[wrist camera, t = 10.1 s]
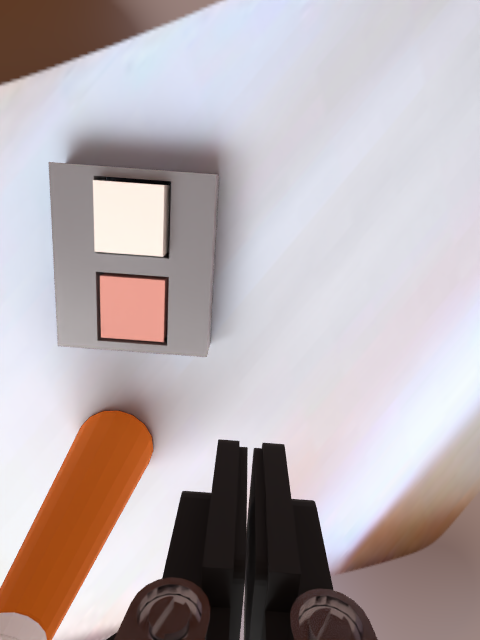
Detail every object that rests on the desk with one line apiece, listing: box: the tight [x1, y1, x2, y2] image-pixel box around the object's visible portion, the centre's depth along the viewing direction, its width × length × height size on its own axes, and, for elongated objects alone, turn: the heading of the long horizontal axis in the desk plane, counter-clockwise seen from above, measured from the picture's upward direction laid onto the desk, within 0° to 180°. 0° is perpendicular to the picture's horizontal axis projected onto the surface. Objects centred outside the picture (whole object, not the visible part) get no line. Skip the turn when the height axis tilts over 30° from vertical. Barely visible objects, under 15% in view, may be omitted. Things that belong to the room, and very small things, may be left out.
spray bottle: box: [0, 411, 153, 640], centre depth 30 cm, size 7×11×26 cm, turn 104°
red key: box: [100, 272, 169, 342], centre depth 36 cm, size 5×5×2 cm
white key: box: [93, 180, 170, 257], centre depth 33 cm, size 5×5×2 cm
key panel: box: [49, 162, 219, 357], centre depth 36 cm, size 12×14×3 cm
